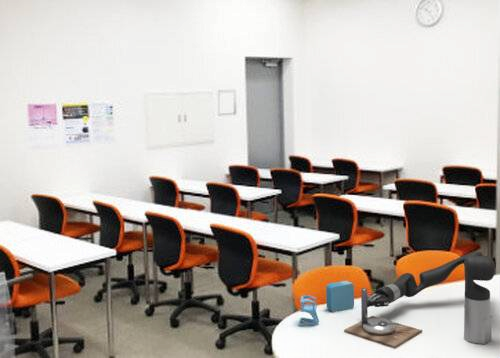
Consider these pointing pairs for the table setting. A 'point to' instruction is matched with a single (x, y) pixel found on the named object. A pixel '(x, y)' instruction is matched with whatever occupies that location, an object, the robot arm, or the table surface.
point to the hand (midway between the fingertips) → (363, 305)
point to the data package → (340, 296)
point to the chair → (309, 311)
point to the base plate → (388, 340)
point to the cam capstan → (375, 320)
